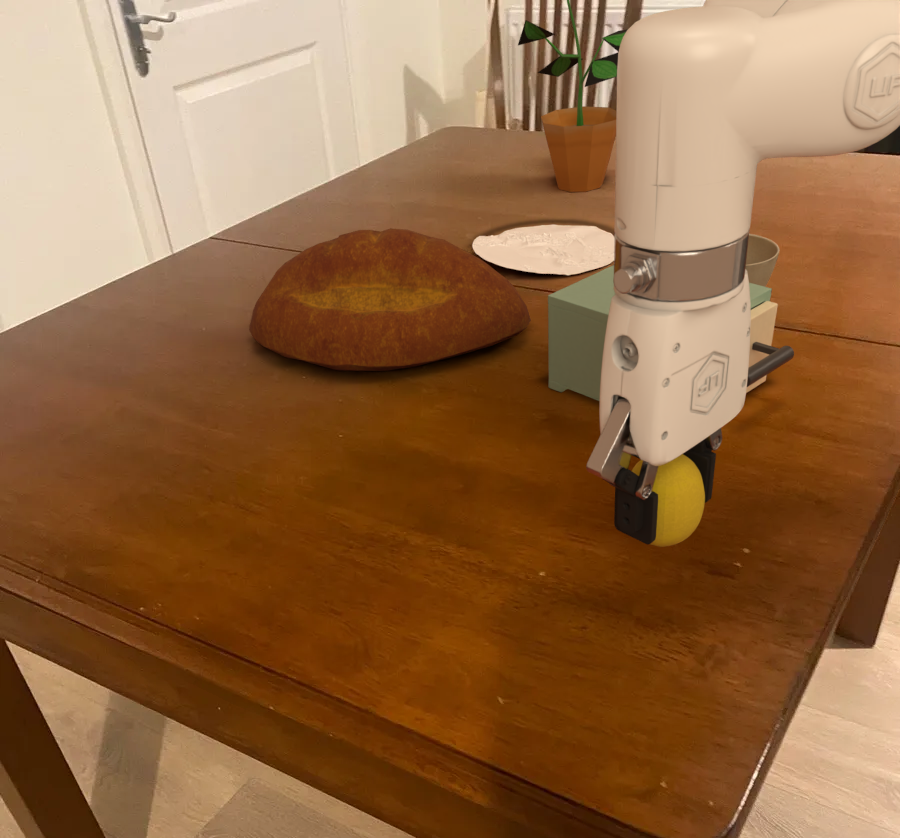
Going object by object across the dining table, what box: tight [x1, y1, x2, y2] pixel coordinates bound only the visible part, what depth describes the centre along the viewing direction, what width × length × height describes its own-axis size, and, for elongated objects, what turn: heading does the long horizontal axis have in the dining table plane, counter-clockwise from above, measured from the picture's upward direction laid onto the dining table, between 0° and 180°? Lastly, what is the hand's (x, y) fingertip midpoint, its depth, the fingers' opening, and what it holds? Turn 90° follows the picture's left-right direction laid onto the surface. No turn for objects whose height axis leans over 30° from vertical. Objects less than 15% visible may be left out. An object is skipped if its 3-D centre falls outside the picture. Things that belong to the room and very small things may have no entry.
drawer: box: [746, 300, 795, 394], centre depth 88 cm, size 18×13×8 cm
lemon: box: [631, 454, 706, 548], centre depth 64 cm, size 6×6×8 cm
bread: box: [248, 227, 532, 372], centre depth 103 cm, size 21×33×12 cm, turn 80°
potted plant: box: [517, 0, 629, 193], centre depth 137 cm, size 18×19×30 cm
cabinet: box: [547, 264, 773, 402], centre depth 90 cm, size 16×14×10 cm
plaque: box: [472, 223, 614, 276], centre depth 125 cm, size 20×20×2 cm
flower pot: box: [745, 233, 780, 287], centre depth 104 cm, size 10×10×7 cm
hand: (663, 512), depth 65 cm, fingers closed on lemon, 5 cm apart
